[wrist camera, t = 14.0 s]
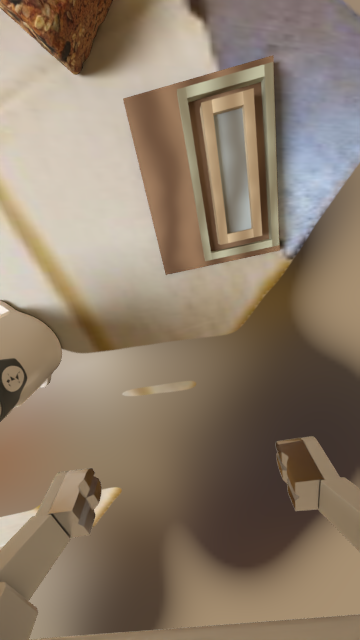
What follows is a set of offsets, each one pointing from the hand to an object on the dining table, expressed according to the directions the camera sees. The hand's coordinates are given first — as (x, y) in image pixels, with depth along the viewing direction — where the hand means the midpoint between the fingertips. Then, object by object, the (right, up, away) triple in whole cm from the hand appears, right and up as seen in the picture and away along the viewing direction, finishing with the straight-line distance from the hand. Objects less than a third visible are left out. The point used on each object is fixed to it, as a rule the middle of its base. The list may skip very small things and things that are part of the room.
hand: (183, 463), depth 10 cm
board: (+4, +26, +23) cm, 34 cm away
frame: (+7, +26, +21) cm, 34 cm away
